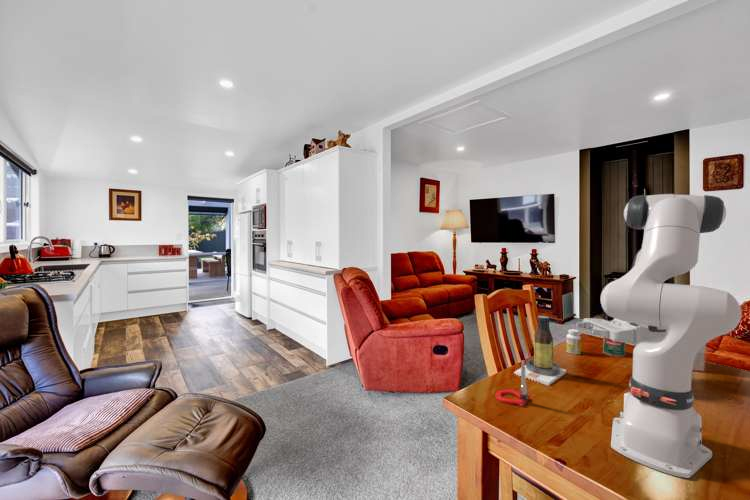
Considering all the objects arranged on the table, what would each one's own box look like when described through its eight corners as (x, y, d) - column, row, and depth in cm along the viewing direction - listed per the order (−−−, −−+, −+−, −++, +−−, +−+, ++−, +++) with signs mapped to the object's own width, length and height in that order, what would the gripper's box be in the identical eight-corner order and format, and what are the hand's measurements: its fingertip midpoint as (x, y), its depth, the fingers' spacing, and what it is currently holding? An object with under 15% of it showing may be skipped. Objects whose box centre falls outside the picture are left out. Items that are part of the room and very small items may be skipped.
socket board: (548, 385, 112) (548, 376, 112) (514, 374, 121) (514, 366, 121) (566, 372, 122) (566, 364, 122) (533, 363, 131) (533, 355, 131)
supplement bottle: (577, 350, 146) (577, 328, 146) (582, 354, 141) (583, 332, 140) (564, 349, 147) (564, 328, 146) (569, 354, 142) (569, 331, 141)
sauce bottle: (556, 373, 119) (557, 319, 118) (539, 373, 119) (540, 319, 118) (547, 366, 125) (548, 314, 125) (530, 366, 126) (531, 314, 125)
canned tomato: (608, 356, 139) (609, 330, 139) (599, 349, 147) (599, 325, 147) (629, 357, 138) (630, 331, 138) (618, 350, 146) (619, 326, 145)
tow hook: (491, 400, 103) (522, 409, 97) (490, 359, 103) (521, 365, 97) (501, 390, 109) (531, 398, 103) (499, 352, 109) (529, 357, 103)
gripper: (605, 314, 130) (569, 313, 131) (644, 328, 110) (601, 327, 111) (605, 330, 131) (569, 329, 131) (644, 346, 110) (601, 345, 111)
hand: (584, 328), depth 121 cm, fingers open, 8 cm apart
